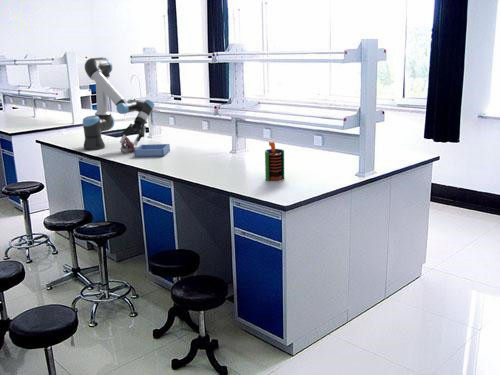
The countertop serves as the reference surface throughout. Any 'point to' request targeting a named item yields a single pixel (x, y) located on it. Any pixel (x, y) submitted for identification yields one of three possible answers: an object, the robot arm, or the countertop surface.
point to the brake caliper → (127, 146)
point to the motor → (274, 163)
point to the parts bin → (152, 150)
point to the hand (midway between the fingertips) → (127, 144)
